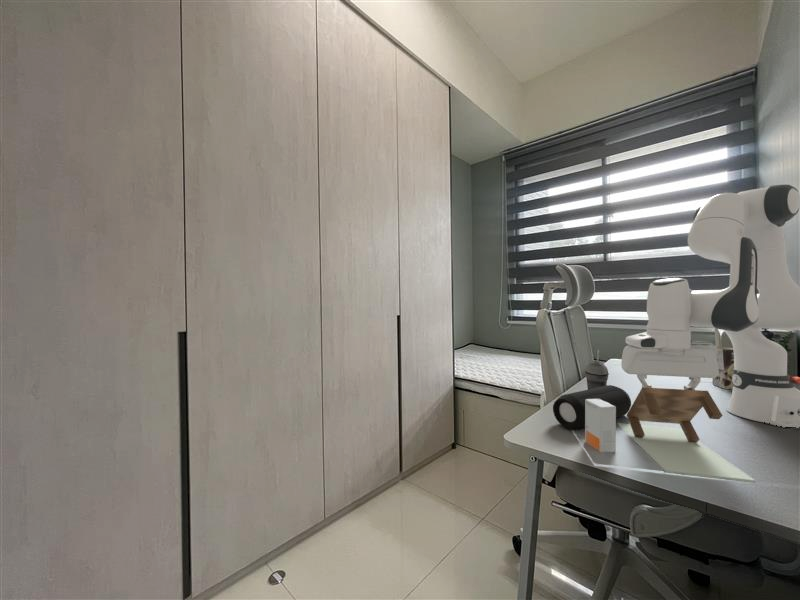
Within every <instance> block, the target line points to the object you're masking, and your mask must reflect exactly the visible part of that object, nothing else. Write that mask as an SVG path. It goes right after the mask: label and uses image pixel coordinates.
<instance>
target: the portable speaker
mask: <svg viewBox="0 0 800 600" xmlns="http://www.w3.org/2000/svg"><path fill="white" fill-rule="evenodd" d="M585 399H601V400H603V401H605V402H608V403H610V404H611V405H613V406H615V407H616V419H618V418H620V417H623V416H625V415H627V413H628V412H629V410H630V408H631V406H632V400H631V397H630V395H629V394H628V392H627V391H625V390H624V389H622V388H621V387H619V386H615V385H612V384H607V385H606V386H602V387H597V388H593V389H588V388H587V389H584V390H579V391H576V392H575V391H574V392H571V393H566V394H562V395H561V396H559V397H558V398H557V399H556V400H555V401H554V403H553V406H552V413H553V415H554V418H555V419H556V421H557V422H558V423H559V424H560V425H562V426H563V427H565V428H568V429H572V430H579V429H582V428H583V429H584V428H585Z"/></svg>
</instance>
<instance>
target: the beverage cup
mask: <svg viewBox="0 0 800 600" xmlns="http://www.w3.org/2000/svg"><path fill="white" fill-rule="evenodd" d="M596 353H597V354H596V355H597V356H596V360H595V361H591V362H589V363H587V365H586V366H585V369H584V370H585V371H584V373H585V378H586V387H587V390H588V389H593V388H597V387H602V386H606V385H608V379H609V374H610V373H609V369H608V367H607V366H606V365H605V364H604V363H603V362H601V361H599V359H600V350H599V349H597V352H596Z"/></svg>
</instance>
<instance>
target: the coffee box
mask: <svg viewBox="0 0 800 600" xmlns="http://www.w3.org/2000/svg"><path fill="white" fill-rule="evenodd" d="M716 347H717V355H716V357H717V362H718V369H719V374H718V376H717V377H716V378H712V385H713V386H715V387H719V388H722V389H724V390H733V383H732V369H733V368H734V352H733V347H723V346H722V347H720V346H719V347H718V346H716Z"/></svg>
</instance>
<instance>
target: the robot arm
mask: <svg viewBox="0 0 800 600" xmlns="http://www.w3.org/2000/svg"><path fill="white" fill-rule="evenodd" d="M799 210H800V193H799V191H798V189H797V188H796V187H795V186H793V185H791V184H776V185H770V186H769V187H760V188H755V189H749V190H743V191H739V192H738V193H734V192H722V193H719V194H718V193H717V194H716V195H714V196H712V197H710V198H708V199H707V200H706V201H703V202H702V203H700V204H699V205H698V206H697V207H696V208H695V210H694V212H693V215H692V216H693V217H692V218H693V219H692V221H693V222H692V225H691V227H690V230H689V232H688V235H687V245H688V247H689V250H690V251H692V252H693V253H694V254H695V255H697V256H699V257H701V258H703V259H706V260H710V261H716V262H722V263H725V264H729V265H730V266H729V283H728V285H729V286H727V287H725V288H724V289H721V290H692V289H691V288H690V286H689V281H688V279H686V278H683V277H682V278H681V277H669V278H661V279H656V280H654V281H652V282H651V283H650V284H649V287H648V291H647V292H648V293H647V295H646V297H647V299H646V313H647V314H646V315H647V318H648V319H647V320H648V322H647V324H646V331H643V332H640V333H637V334H632V335H628V336H626V337H625V343H626V344H627V345H626V346H624V348H623V350H622V355H621V370H622V371H624V372H625V373H626V374H628V375H635V376H636V378H637V379H638V380H639V382H640V383H641V388H642V387H644V388H653V387H652V385H651V384H649V383H647V382H646V381H647V378H648V376H657V377H658V376H662V377H663V376H664V377H678V378H679V377H680V378H688V380H690V381H689V382H688V384H687V385H683V390H696V388H697V387H698V385H700V383H701V379H704V378H705V379H713V378H716V377H717V376H718V374H719V369H718V362H717V357H716V355H717V347H718V346H716V345H715V343H713V342H711V341H709V340H702V341H701V340H692V329H691V327H693V328H694V327H695V328H703V329H704V328H706V329H707V328H708V329H716V330H722V331H724V333H725V334H726V335H727V337H728V338H729V340H730V342H731V345H732V348H733V352H734V368H733V369H732V383H733V389H732V392H731V395H730V396H731V397H730V399H729V403H728V405H727V408H726V410H727V412H729V413H730V414H732V415H734V416H738V417H740V418H743V419H747V420H750V421H756V422H760V423H764V422H765V424H769V423H770V424H769V425H773V426H776V425H777V426H776V427H780V426H782V427H781V428H785V427H796V428H795V429H800V428H799V427H800V390H799V389H798V388H796V387H795V384H798V385H800V377H799V376H792V375H789V374H788V351H787V350H786V349H785V347H783V345H781V344H779V343H778V342H775V341H773V340H770V339H769V338H767V337H765V335H764V334H763V333H762V331H761V329H764V330H765V329H766V330H780V331H781V330H782V331H800V286H799V285H798V284H797V283H796V282H795V281H794V280H793V278H792V277H791V275H790V272H789V268H788V263H787V262H788V261H787V250H786V239H785V233H784V228H783V226H784V225H785V224H786V222H788V221H790V220H792V219H793V218H794V217H795V216H796V215H797V214H798V212H799ZM757 292H758V293H757Z"/></svg>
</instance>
